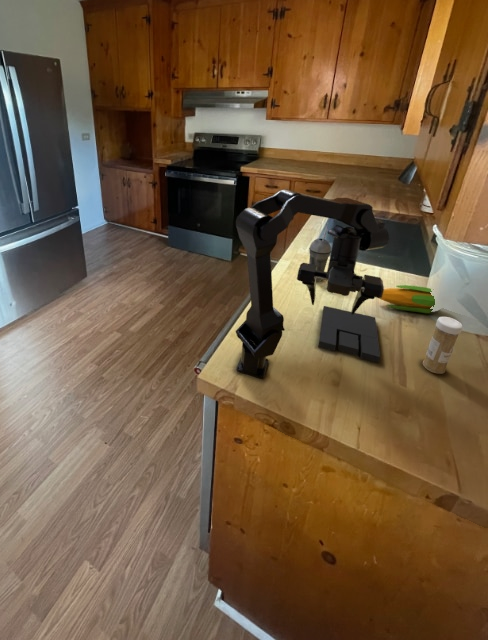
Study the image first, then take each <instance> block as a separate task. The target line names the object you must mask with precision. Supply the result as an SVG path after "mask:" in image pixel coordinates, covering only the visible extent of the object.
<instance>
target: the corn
mask: <svg viewBox="0 0 488 640" xmlns="http://www.w3.org/2000/svg"><path fill="white" fill-rule="evenodd" d="M395 286H396V288H392V287H391V288H384V291H383V295H382V298H378V299H379V300H381V301H384V302H386V303H389V304H386V305H385V306H386V307H388V308H391V309H395V310H400V311H406V312H413V313H421V314H431V313H430V312H431V311H432V310H433V309H430V308H431V307H432V306H433V307H434V305H435V299H434V296H432V295H431V293H430V292H432V291H431V289H432V288H429V287H424V286H419V285H408V284H402V285H401V284H400V285H395Z"/></svg>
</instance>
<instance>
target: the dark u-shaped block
mask: <svg viewBox="0 0 488 640" xmlns="http://www.w3.org/2000/svg"><path fill="white" fill-rule="evenodd" d="M321 315H322V316H321V321H320V329H319V337H318V346H317V347H318V348H319V349H324V350H327V351H331V352H335V351H336V348H337V337H338V336H339V332H340V331H341V332H345V333H350V334H354V335H358V342H359V354H360V356H359V357H360V359H361V360H365V361H368V362H372V363H375V364H379V363H380V361H381V360H380V359H381V353H380V345H379V344H380V343H379V335H378V329H377V327H378V326H377V320H376V316H371V315H367V314H362V313H359V312H355V313H354V314H351V311H348V310H344V309H340V308H337V307H336V308H335V307H332V306H326V305H323V309H322V314H321Z"/></svg>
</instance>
